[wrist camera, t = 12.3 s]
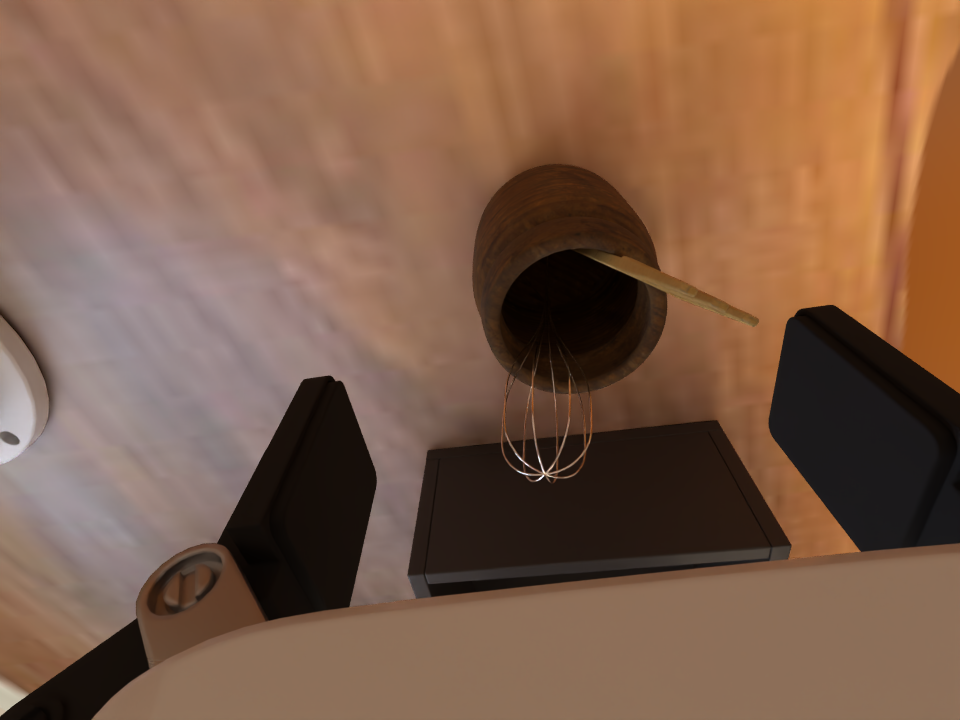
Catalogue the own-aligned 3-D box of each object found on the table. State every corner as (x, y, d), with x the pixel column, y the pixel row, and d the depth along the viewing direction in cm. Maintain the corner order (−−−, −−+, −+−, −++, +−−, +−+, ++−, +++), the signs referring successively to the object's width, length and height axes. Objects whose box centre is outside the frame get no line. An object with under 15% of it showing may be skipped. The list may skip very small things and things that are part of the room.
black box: (427, 450, 26) (406, 575, 20) (717, 420, 24) (792, 545, 18) (475, 619, 34) (471, 746, 28) (695, 604, 32) (742, 735, 26)
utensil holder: (451, 273, 21) (409, 495, 10) (523, 120, 17) (563, 223, 7) (575, 328, 22) (647, 576, 12) (663, 195, 19) (866, 372, 9)
